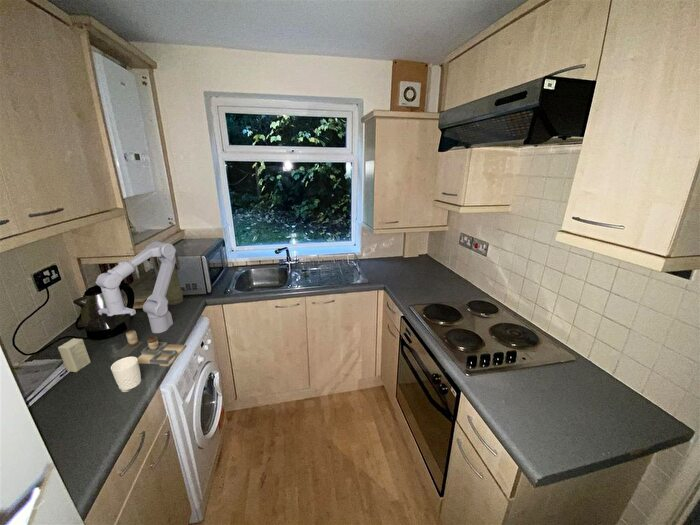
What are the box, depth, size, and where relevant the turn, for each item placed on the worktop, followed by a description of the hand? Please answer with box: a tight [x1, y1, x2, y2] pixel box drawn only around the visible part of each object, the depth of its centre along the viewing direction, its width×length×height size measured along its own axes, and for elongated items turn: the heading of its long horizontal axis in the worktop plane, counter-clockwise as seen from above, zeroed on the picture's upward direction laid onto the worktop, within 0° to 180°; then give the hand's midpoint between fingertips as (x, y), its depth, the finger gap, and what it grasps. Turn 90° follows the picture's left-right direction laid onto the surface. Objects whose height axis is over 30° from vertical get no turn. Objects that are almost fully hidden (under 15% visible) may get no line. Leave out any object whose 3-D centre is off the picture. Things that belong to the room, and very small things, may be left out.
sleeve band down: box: [125, 329, 140, 347], centre depth 131 cm, size 4×4×6 cm
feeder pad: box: [111, 340, 144, 358], centre depth 129 cm, size 11×6×1 cm, turn 178°
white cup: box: [110, 356, 142, 393], centre depth 108 cm, size 8×8×10 cm
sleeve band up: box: [146, 335, 159, 351], centre depth 127 cm, size 4×4×6 cm
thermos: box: [152, 251, 184, 306], centre depth 166 cm, size 9×12×35 cm
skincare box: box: [57, 337, 92, 373], centre depth 116 cm, size 6×4×12 cm
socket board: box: [136, 341, 187, 367], centre depth 126 cm, size 13×15×2 cm
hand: (122, 328), depth 127 cm, fingers open, 7 cm apart
